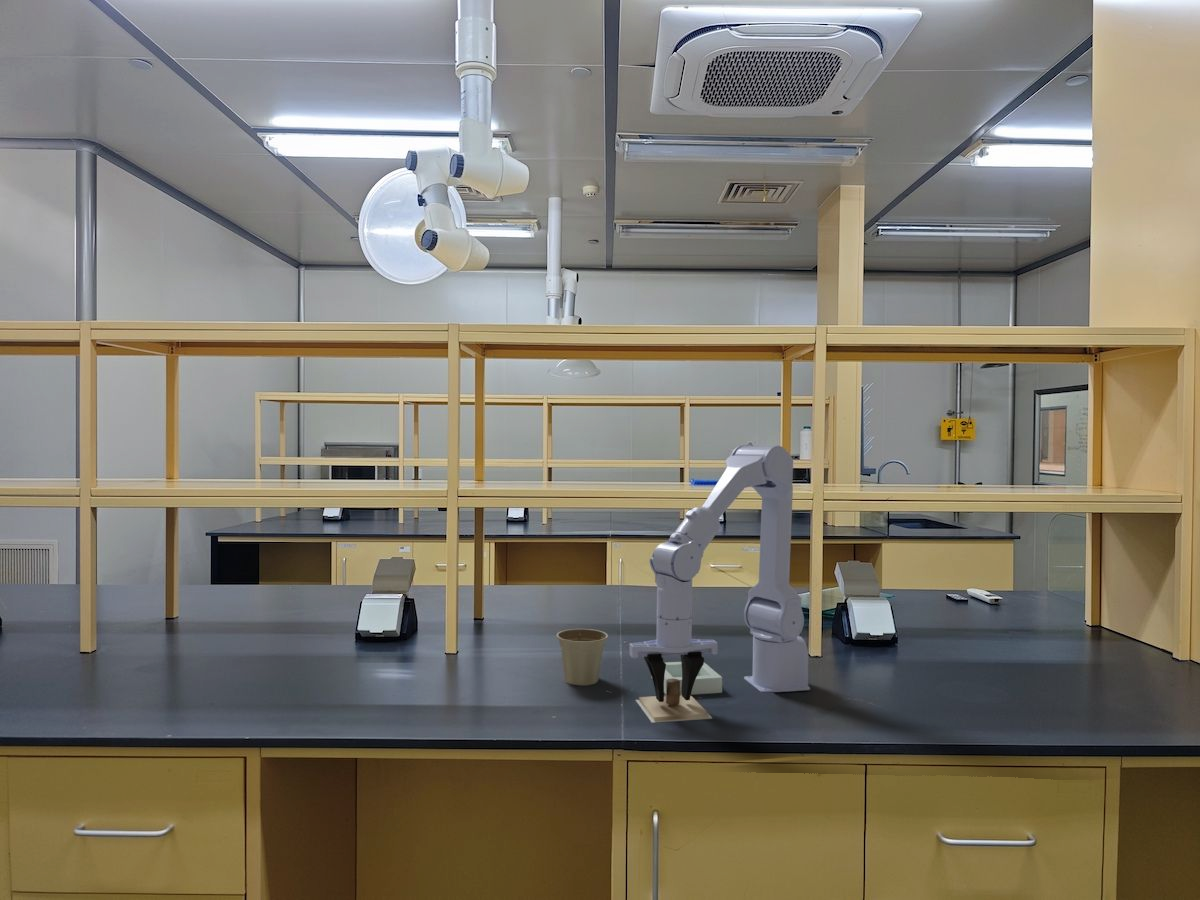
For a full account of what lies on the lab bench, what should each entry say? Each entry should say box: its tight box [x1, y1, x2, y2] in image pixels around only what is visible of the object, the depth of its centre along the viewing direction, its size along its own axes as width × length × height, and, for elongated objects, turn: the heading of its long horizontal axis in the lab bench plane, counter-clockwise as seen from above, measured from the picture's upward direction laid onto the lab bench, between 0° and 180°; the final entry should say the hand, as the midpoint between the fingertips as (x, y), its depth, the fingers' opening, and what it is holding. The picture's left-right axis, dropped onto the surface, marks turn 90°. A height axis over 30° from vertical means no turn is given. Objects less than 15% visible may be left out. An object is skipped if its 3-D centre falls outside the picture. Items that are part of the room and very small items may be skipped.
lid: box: [638, 679, 710, 721], centre depth 116 cm, size 9×9×5 cm
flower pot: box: [556, 628, 609, 686], centre depth 130 cm, size 9×9×9 cm
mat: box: [635, 699, 713, 724], centre depth 116 cm, size 10×10×1 cm
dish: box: [650, 661, 723, 696], centre depth 128 cm, size 10×10×3 cm
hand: (672, 699), depth 116 cm, fingers open, 4 cm apart
